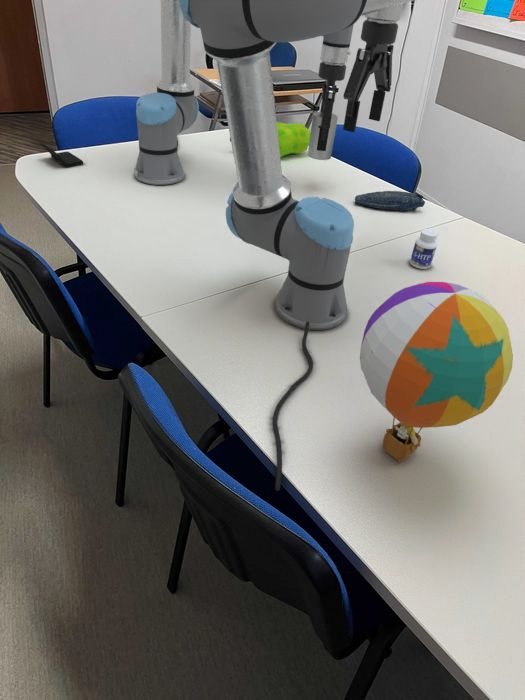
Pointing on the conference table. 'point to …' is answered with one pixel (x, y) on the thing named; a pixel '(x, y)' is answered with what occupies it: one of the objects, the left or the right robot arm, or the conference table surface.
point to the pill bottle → (424, 249)
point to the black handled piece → (64, 157)
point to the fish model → (391, 200)
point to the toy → (434, 359)
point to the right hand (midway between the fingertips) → (362, 125)
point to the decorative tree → (292, 138)
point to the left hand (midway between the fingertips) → (320, 146)
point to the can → (315, 134)
